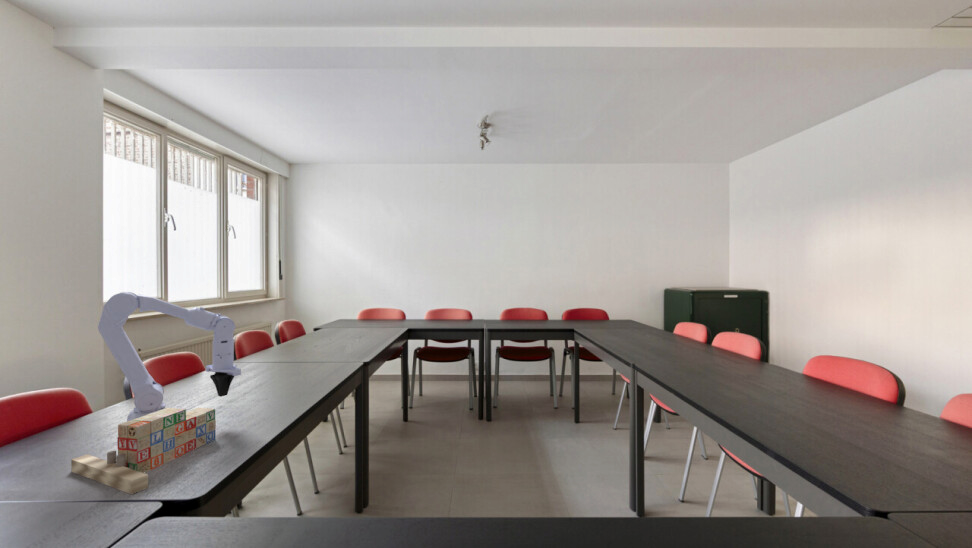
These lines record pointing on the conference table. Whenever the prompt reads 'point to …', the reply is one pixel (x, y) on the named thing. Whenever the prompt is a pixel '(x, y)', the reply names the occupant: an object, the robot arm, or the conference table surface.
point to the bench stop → (110, 472)
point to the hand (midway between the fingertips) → (222, 395)
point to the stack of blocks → (164, 436)
